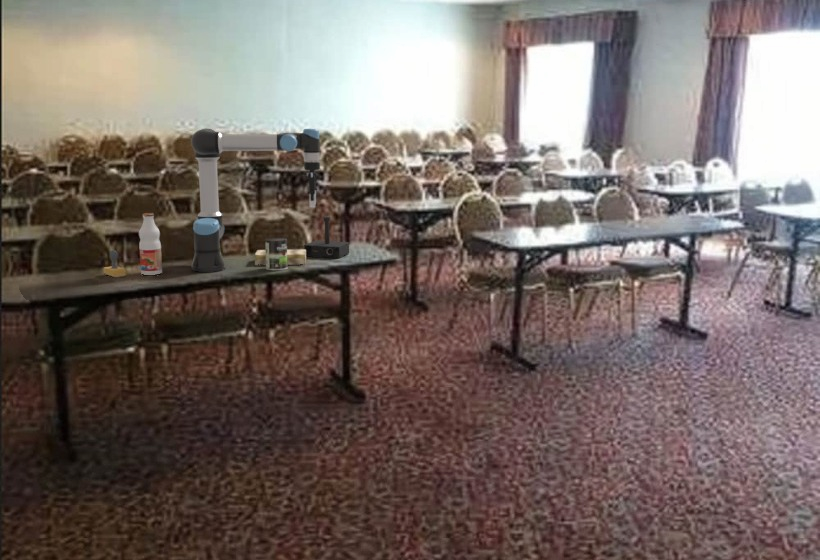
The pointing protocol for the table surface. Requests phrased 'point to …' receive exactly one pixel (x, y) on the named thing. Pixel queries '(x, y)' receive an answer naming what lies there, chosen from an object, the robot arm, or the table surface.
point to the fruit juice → (150, 246)
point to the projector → (327, 246)
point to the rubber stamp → (114, 266)
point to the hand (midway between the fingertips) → (312, 205)
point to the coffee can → (276, 253)
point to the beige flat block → (292, 257)
